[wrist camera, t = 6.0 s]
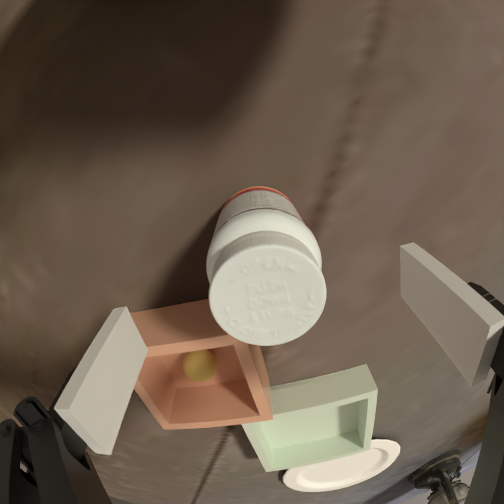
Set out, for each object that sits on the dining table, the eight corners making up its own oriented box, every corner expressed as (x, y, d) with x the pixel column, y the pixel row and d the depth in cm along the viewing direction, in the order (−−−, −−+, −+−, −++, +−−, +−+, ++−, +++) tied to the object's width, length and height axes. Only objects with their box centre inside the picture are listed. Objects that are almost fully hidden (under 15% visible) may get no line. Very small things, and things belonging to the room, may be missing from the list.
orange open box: (130, 313, 26) (109, 350, 21) (243, 291, 25) (243, 331, 20) (172, 390, 30) (164, 429, 25) (269, 378, 29) (272, 419, 24)
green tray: (239, 391, 30) (239, 419, 26) (366, 363, 29) (377, 389, 26) (264, 449, 36) (266, 471, 32) (362, 428, 35) (369, 449, 31)
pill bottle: (287, 265, 24) (315, 361, 14) (213, 253, 24) (191, 346, 13) (306, 192, 22) (358, 248, 12) (225, 177, 22) (206, 220, 11)
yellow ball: (180, 343, 27) (174, 366, 24) (212, 338, 26) (209, 362, 23) (192, 367, 28) (187, 390, 25) (222, 362, 28) (220, 386, 25)
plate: (265, 485, 42) (265, 492, 41) (314, 431, 35) (316, 441, 33) (358, 482, 45) (360, 488, 43) (420, 428, 37) (423, 436, 36)
